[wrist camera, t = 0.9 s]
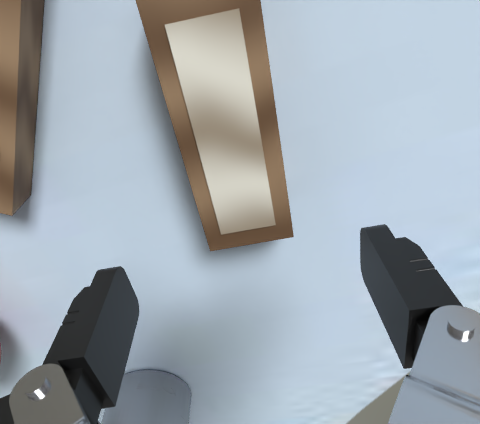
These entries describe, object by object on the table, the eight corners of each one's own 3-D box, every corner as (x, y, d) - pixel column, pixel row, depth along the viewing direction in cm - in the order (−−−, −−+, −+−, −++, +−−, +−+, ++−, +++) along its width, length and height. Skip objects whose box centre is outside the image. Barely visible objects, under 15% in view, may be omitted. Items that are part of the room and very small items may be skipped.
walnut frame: (284, 200, 30) (294, 238, 26) (212, 213, 31) (210, 253, 26) (250, -29, 22) (256, -30, 18) (151, -7, 22) (133, -2, 18)
